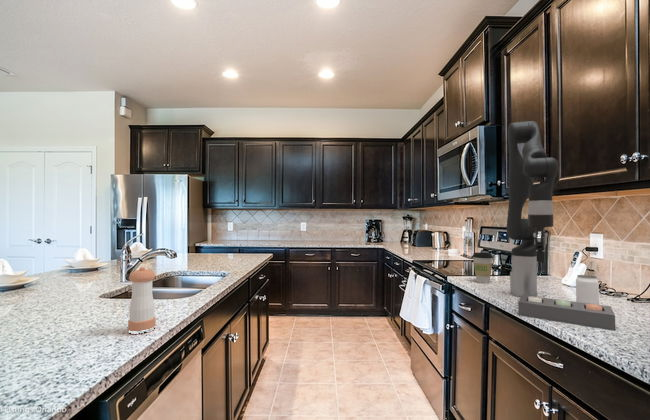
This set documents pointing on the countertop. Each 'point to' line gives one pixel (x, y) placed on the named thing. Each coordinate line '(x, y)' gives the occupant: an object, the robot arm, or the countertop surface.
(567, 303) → the button sage
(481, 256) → the coffee cup
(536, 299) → the button cream
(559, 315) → the panel
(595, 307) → the button terracotta
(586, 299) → the grey block
